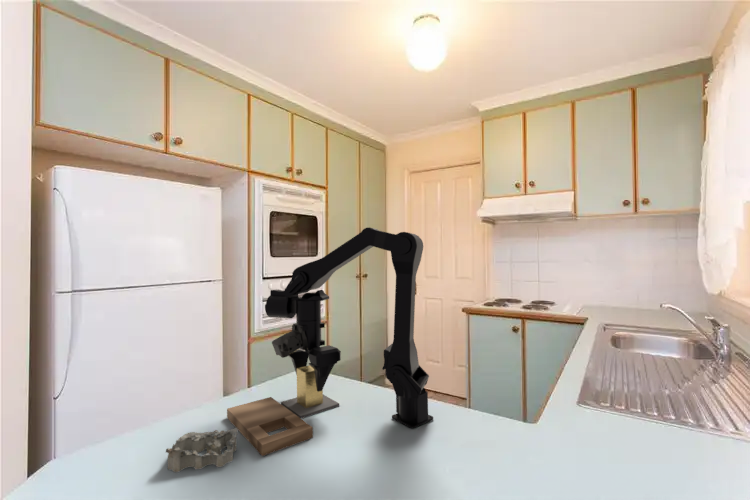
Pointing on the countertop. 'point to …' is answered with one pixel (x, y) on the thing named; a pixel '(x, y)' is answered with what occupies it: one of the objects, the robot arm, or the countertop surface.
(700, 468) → the countertop surface
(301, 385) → the brass plug
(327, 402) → the rubber mat
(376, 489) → the countertop surface
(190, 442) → the egg carton
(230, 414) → the walnut board
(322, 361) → the robot arm
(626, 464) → the countertop surface
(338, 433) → the countertop surface
